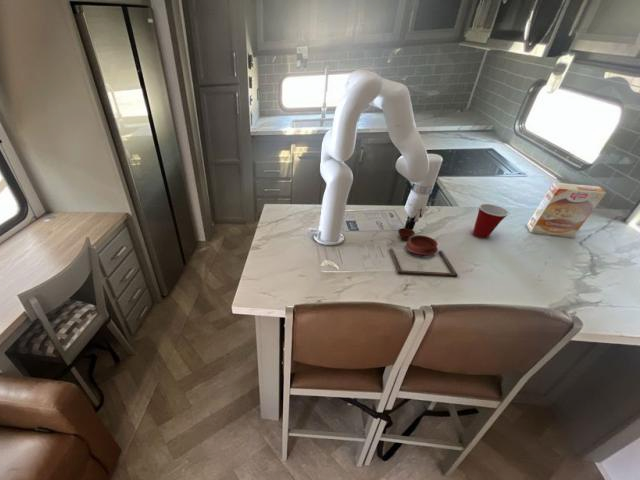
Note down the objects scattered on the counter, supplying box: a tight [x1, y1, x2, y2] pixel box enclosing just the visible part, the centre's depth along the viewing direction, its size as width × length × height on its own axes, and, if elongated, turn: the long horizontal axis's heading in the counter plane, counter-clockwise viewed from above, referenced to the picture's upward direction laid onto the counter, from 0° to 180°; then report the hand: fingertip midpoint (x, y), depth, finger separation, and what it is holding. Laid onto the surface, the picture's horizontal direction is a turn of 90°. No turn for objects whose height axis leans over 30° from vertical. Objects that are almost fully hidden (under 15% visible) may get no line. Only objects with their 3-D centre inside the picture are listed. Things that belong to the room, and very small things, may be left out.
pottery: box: [398, 227, 439, 256], centre depth 130 cm, size 12×20×4 cm, turn 10°
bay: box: [389, 247, 458, 278], centre depth 122 cm, size 20×16×1 cm
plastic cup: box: [472, 203, 510, 239], centre depth 132 cm, size 11×11×12 cm
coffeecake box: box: [526, 181, 607, 238], centre depth 130 cm, size 15×7×20 cm, turn 68°
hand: (408, 228), depth 138 cm, fingers closed
